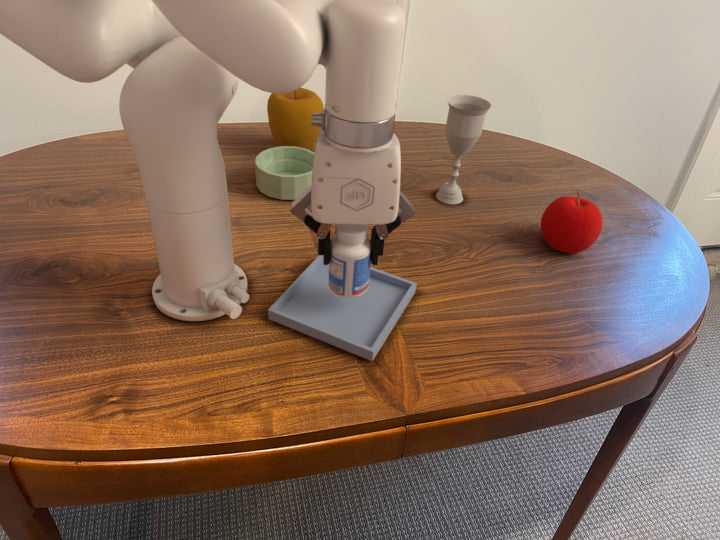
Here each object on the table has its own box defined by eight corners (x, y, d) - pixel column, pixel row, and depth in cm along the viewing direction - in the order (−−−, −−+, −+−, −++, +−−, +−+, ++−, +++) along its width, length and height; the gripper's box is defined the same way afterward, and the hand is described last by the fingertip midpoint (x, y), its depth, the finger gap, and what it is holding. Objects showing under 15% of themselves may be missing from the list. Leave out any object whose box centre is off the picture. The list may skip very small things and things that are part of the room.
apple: (332, 150, 111) (335, 88, 103) (301, 169, 103) (301, 104, 95) (290, 134, 115) (290, 74, 107) (257, 152, 108) (254, 88, 100)
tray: (415, 292, 77) (417, 283, 76) (372, 361, 66) (373, 352, 65) (323, 259, 82) (323, 250, 81) (268, 319, 71) (267, 309, 70)
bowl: (333, 186, 99) (334, 162, 96) (287, 209, 92) (287, 183, 89) (289, 164, 105) (289, 140, 102) (243, 184, 97) (241, 159, 94)
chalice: (438, 208, 96) (457, 111, 85) (424, 189, 101) (440, 95, 90) (475, 205, 98) (498, 110, 87) (460, 186, 103) (480, 94, 92)
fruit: (589, 236, 92) (610, 186, 86) (592, 267, 85) (616, 214, 79) (535, 225, 94) (552, 174, 88) (534, 254, 87) (552, 201, 81)
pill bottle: (367, 274, 74) (373, 214, 68) (369, 300, 70) (375, 239, 64) (327, 272, 74) (330, 212, 68) (327, 298, 70) (330, 237, 64)
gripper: (277, 138, 54) (281, 276, 65) (443, 142, 56) (420, 277, 67) (280, 109, 60) (283, 241, 71) (430, 114, 62) (410, 242, 73)
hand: (349, 257), depth 69 cm, fingers closed on pill bottle, 5 cm apart
